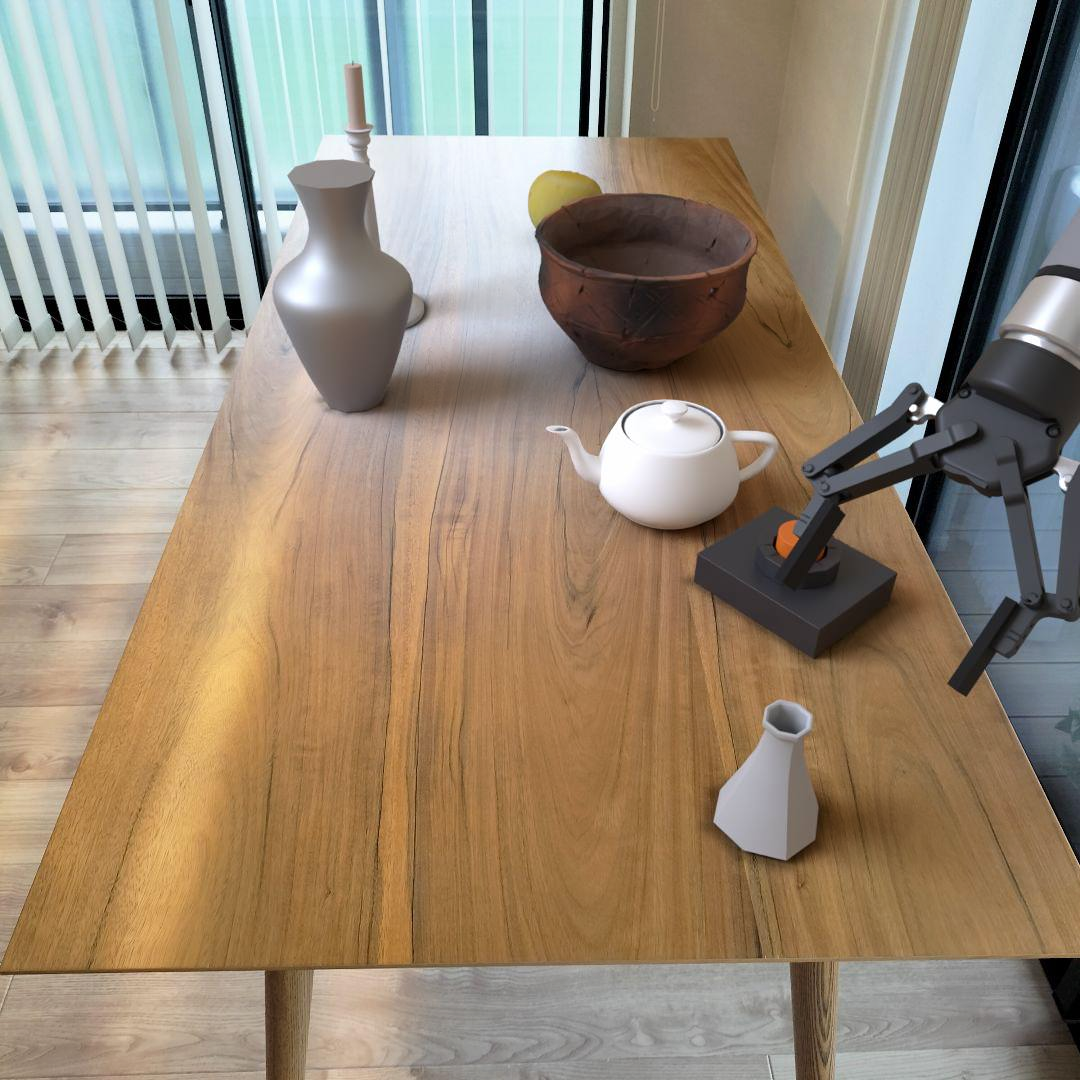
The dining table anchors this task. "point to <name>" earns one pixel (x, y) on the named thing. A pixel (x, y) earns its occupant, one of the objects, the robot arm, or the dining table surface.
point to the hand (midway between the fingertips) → (865, 635)
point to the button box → (818, 603)
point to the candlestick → (367, 160)
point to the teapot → (668, 463)
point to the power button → (788, 540)
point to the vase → (342, 290)
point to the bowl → (642, 275)
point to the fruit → (557, 192)
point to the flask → (772, 789)
